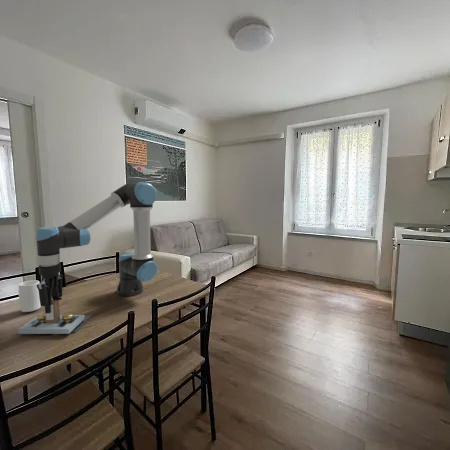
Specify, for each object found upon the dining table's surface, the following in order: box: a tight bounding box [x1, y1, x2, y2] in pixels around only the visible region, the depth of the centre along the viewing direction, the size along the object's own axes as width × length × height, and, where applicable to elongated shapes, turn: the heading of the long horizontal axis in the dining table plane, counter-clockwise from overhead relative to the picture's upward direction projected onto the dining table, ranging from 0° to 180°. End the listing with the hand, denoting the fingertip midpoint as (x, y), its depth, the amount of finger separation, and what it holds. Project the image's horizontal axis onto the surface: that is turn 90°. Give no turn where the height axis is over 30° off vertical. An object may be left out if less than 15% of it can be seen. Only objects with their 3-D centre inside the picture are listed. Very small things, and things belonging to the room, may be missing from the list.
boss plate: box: [35, 312, 93, 334], centre depth 109 cm, size 22×14×5 cm, turn 92°
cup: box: [18, 279, 42, 313], centre depth 120 cm, size 8×8×14 cm
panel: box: [17, 299, 85, 335], centre depth 105 cm, size 12×20×11 cm, turn 92°
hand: (53, 317), depth 105 cm, fingers closed on panel, 3 cm apart
